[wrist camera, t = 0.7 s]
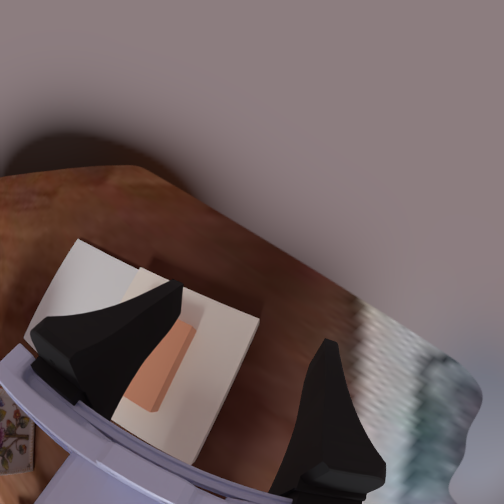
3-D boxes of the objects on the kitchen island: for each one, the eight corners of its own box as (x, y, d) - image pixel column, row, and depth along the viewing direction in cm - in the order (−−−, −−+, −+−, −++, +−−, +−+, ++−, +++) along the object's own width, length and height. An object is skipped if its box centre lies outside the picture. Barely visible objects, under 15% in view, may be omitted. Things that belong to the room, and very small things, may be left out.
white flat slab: (195, 461, 22) (190, 465, 20) (85, 393, 25) (75, 392, 23) (259, 323, 29) (259, 318, 27) (146, 274, 32) (140, 266, 30)
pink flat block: (157, 411, 23) (150, 412, 21) (108, 380, 24) (98, 379, 22) (196, 330, 27) (192, 326, 25) (146, 305, 28) (139, 299, 26)
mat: (82, 391, 25) (80, 390, 25) (25, 338, 27) (23, 338, 27) (143, 272, 32) (142, 271, 31) (79, 240, 34) (77, 238, 34)
